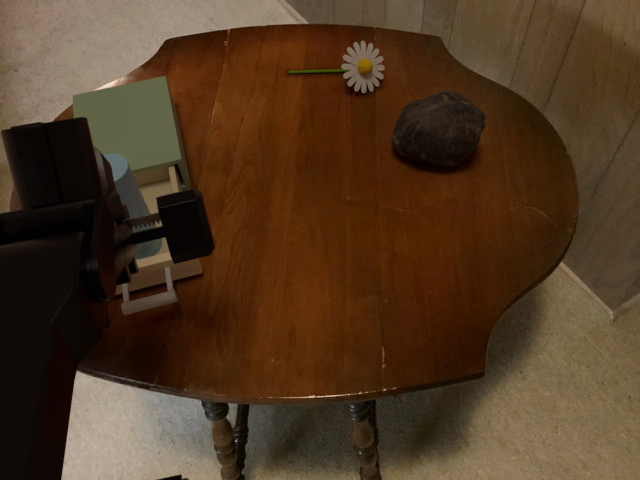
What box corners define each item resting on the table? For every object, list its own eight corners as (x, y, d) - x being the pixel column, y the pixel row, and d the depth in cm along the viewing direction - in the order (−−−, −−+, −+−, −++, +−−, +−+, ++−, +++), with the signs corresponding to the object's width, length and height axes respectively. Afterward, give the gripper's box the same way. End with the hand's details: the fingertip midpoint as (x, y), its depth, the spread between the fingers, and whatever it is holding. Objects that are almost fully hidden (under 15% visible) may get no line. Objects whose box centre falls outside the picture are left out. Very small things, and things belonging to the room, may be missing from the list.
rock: (380, 128, 86) (396, 75, 77) (452, 120, 88) (475, 68, 80) (401, 184, 81) (420, 134, 72) (477, 174, 83) (504, 125, 75)
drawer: (208, 305, 70) (201, 287, 66) (103, 332, 68) (90, 315, 65) (184, 176, 82) (176, 155, 79) (94, 197, 81) (83, 176, 77)
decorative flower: (284, 41, 88) (386, 37, 88) (288, 47, 94) (383, 43, 94) (286, 95, 90) (386, 92, 89) (290, 97, 96) (383, 94, 95)
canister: (155, 261, 73) (118, 186, 61) (121, 257, 73) (78, 181, 62) (167, 233, 75) (134, 155, 64) (134, 228, 76) (95, 150, 64)
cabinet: (191, 188, 82) (181, 158, 77) (92, 211, 80) (76, 182, 75) (175, 106, 92) (165, 75, 87) (87, 125, 90) (72, 95, 85)
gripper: (179, 128, 46) (190, 136, 61) (-73, 183, 44) (4, 178, 59) (215, 265, 48) (217, 240, 63) (-25, 326, 46) (38, 284, 61)
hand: (121, 233), depth 62 cm, fingers open, 9 cm apart
